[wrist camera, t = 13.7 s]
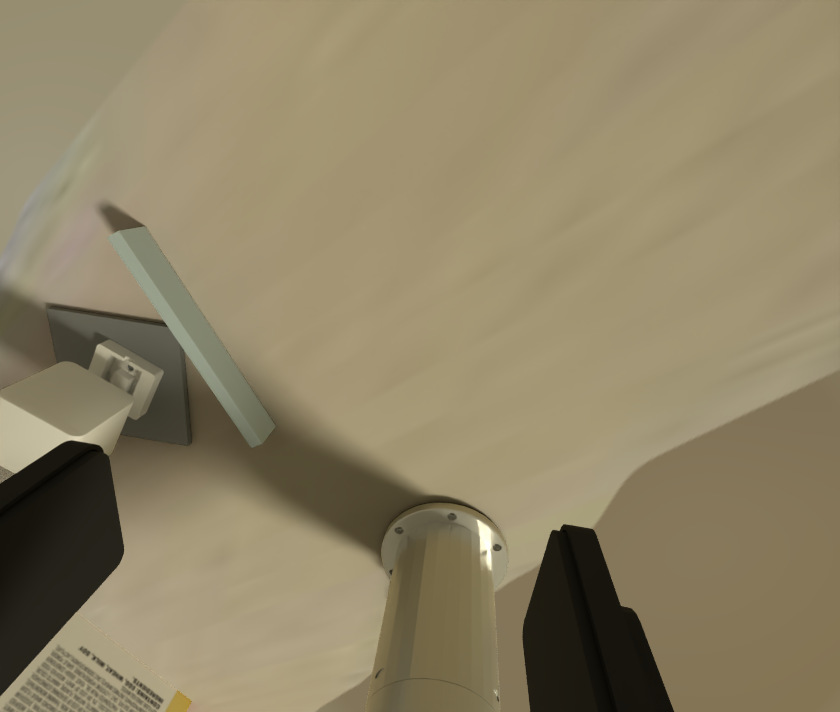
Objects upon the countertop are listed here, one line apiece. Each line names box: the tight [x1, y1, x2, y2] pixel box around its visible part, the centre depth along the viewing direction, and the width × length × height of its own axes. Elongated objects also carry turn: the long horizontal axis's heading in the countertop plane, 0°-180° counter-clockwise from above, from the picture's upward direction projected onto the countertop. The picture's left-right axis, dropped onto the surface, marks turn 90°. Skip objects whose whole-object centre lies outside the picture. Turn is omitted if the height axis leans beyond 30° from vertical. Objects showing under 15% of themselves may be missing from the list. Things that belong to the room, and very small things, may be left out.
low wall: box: [107, 226, 276, 448], centre depth 38 cm, size 20×1×3 cm, turn 26°
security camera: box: [0, 339, 164, 474], centre depth 37 cm, size 6×7×10 cm
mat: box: [46, 307, 192, 446], centre depth 42 cm, size 12×12×1 cm
